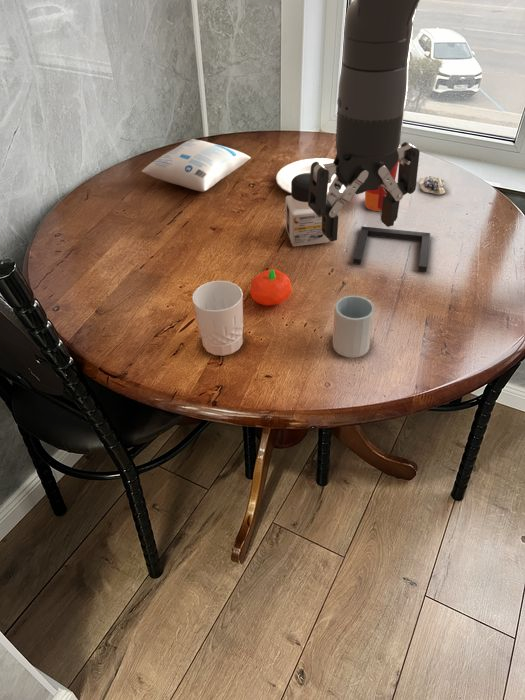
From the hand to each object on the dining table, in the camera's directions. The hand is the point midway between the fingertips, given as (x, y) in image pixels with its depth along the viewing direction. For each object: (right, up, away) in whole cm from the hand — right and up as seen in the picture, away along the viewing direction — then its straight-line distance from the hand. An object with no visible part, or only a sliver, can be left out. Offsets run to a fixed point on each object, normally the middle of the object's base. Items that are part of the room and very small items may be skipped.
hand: (359, 230), depth 72 cm
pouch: (-29, +27, +64) cm, 75 cm away
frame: (+13, +4, +36) cm, 39 cm away
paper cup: (+13, +17, +51) cm, 55 cm away
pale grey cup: (+2, -15, +17) cm, 23 cm away
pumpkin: (-11, -7, +27) cm, 30 cm away
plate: (+1, +25, +60) cm, 64 cm away
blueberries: (+28, +22, +56) cm, 66 cm away
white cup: (-20, -15, +19) cm, 31 cm away
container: (-4, +8, +42) cm, 43 cm away
